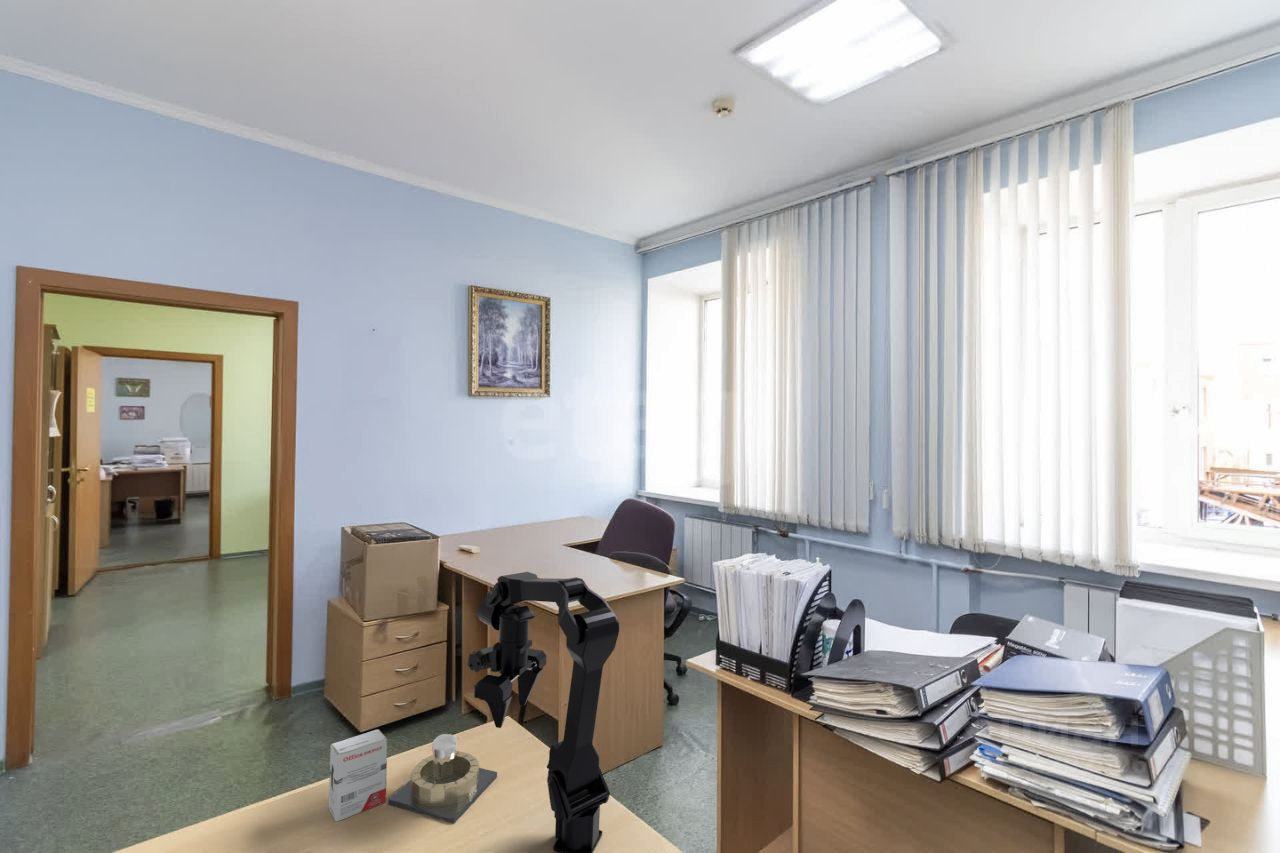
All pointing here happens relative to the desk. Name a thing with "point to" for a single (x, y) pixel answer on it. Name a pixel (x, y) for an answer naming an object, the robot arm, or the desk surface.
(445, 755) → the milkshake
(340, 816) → the ink box
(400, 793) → the collar station
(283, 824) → the desk surface
